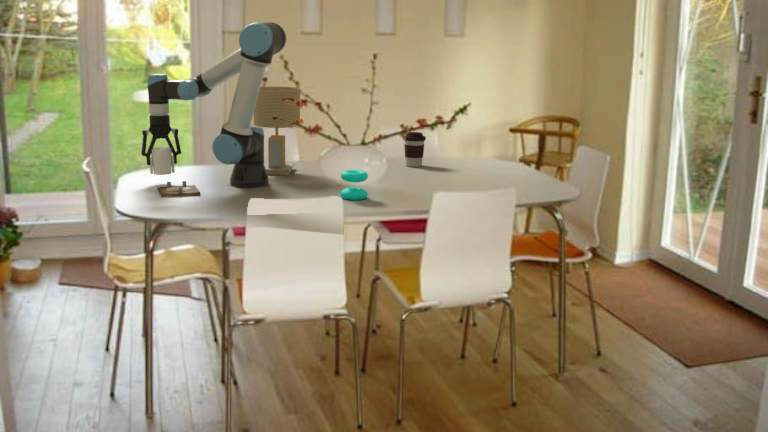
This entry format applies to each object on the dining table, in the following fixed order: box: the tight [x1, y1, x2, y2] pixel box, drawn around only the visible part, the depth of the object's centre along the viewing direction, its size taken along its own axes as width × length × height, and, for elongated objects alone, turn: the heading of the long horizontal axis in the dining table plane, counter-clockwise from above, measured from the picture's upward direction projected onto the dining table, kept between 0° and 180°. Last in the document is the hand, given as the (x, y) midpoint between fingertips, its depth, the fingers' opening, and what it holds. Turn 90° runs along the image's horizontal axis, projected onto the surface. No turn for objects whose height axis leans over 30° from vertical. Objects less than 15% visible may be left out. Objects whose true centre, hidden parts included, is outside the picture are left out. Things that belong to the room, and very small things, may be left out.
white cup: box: [150, 146, 173, 176], centre depth 352 cm, size 8×8×10 cm
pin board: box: [156, 180, 201, 198], centre depth 338 cm, size 14×14×3 cm
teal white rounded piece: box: [340, 169, 369, 201], centre depth 336 cm, size 10×10×10 cm
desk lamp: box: [253, 86, 301, 176], centre depth 381 cm, size 20×20×35 cm
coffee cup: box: [403, 131, 426, 168], centre depth 405 cm, size 10×10×15 cm
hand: (162, 172), depth 353 cm, fingers closed on white cup, 8 cm apart
